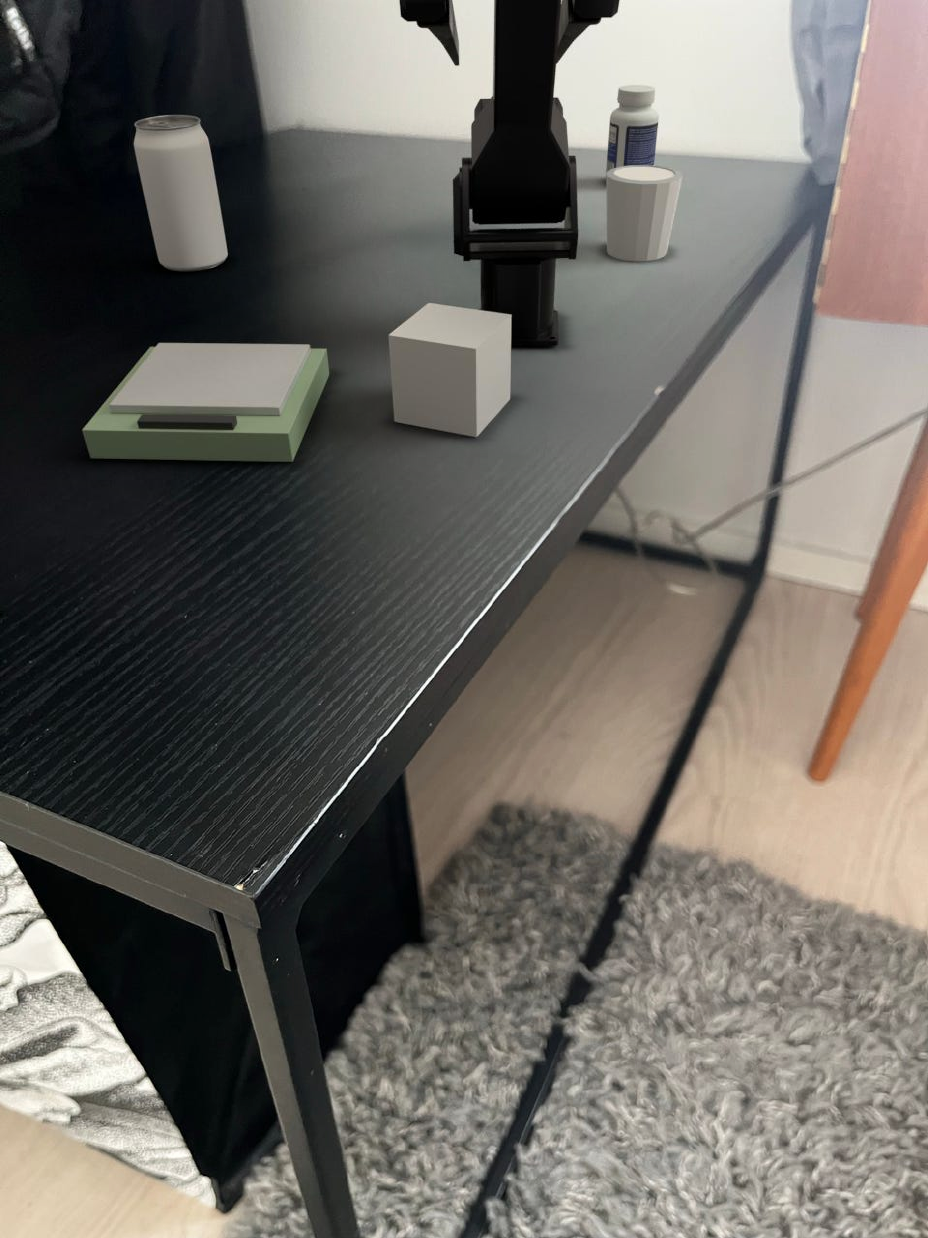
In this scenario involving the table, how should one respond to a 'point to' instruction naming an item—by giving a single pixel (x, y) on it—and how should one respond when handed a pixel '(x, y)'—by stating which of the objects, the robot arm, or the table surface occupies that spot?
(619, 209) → the white cup
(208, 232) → the can
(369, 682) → the table surface
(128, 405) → the scale
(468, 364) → the white cube
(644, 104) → the pill bottle
